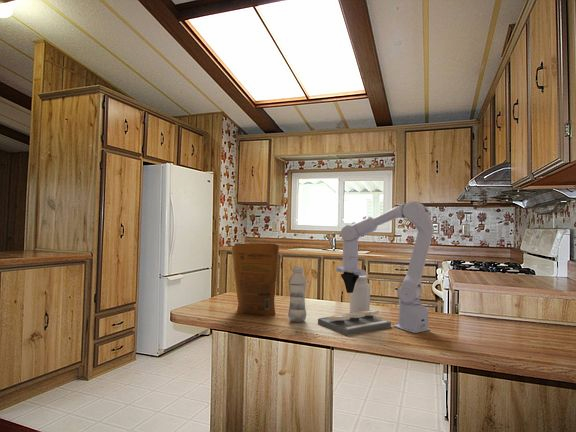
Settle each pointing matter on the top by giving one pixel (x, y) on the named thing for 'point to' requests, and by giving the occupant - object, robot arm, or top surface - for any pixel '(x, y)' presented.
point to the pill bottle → (360, 296)
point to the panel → (355, 324)
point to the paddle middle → (355, 315)
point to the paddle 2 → (369, 313)
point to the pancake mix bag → (255, 277)
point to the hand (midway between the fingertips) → (349, 292)
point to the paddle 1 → (339, 317)
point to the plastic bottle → (297, 295)
